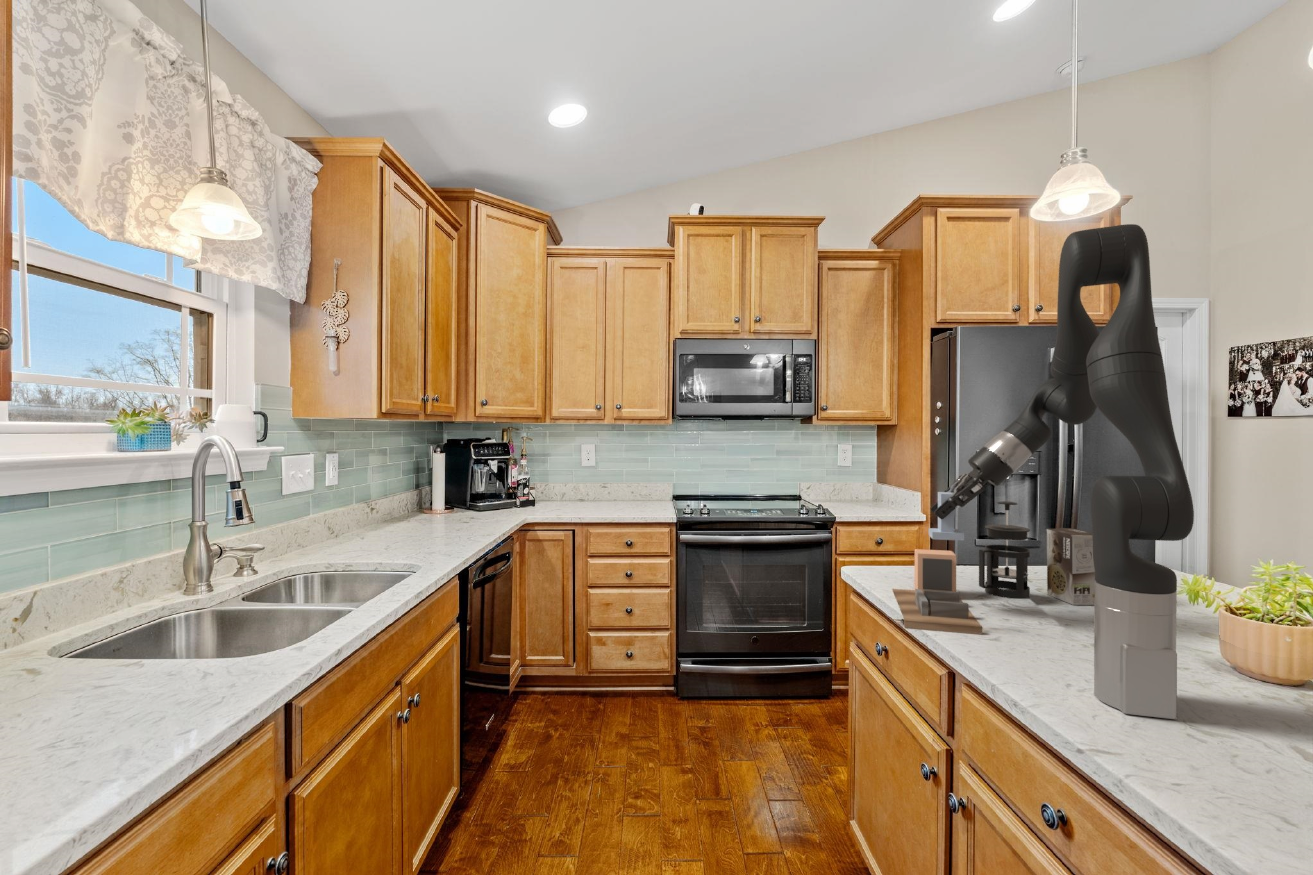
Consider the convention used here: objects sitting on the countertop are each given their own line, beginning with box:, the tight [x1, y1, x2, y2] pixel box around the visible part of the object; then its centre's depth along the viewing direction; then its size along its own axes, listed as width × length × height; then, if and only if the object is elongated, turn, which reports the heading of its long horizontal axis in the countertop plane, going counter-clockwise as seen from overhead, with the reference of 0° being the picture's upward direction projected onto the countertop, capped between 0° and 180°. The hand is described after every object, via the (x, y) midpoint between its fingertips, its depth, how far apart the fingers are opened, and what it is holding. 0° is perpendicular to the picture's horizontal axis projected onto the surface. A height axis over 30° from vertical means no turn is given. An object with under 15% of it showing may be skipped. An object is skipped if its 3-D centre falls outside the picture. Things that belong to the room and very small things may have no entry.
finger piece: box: [928, 491, 965, 541], centre depth 122 cm, size 5×6×10 cm
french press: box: [978, 500, 1031, 600], centre depth 135 cm, size 12×9×23 cm
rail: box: [891, 588, 983, 635], centre depth 126 cm, size 24×14×4 cm, turn 163°
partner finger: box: [914, 548, 957, 593], centre depth 133 cm, size 6×8×10 cm
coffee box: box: [1046, 527, 1095, 606], centre depth 134 cm, size 9×6×16 cm
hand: (935, 514), depth 123 cm, fingers closed on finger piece, 4 cm apart
